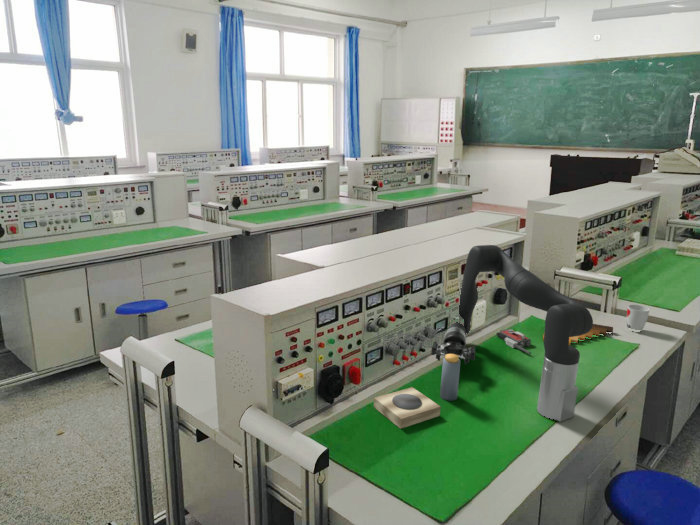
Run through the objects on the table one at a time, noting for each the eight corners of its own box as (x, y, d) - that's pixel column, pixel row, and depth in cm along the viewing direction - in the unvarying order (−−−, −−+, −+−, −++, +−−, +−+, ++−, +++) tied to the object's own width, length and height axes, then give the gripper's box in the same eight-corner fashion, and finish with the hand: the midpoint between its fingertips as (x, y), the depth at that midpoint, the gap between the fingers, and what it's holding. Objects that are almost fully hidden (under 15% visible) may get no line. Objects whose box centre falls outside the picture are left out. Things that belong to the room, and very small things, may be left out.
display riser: (439, 415, 155) (440, 405, 154) (400, 428, 147) (401, 417, 147) (411, 395, 165) (412, 386, 164) (373, 407, 158) (374, 396, 157)
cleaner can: (460, 398, 165) (464, 358, 162) (447, 402, 162) (451, 361, 159) (449, 390, 169) (452, 351, 166) (436, 394, 167) (439, 354, 163)
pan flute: (611, 333, 224) (548, 322, 234) (613, 325, 223) (549, 315, 233) (612, 355, 202) (542, 342, 211) (614, 347, 201) (543, 334, 211)
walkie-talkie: (491, 337, 214) (527, 357, 197) (492, 327, 213) (529, 346, 196) (508, 334, 218) (545, 354, 201) (509, 324, 217) (547, 342, 199)
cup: (625, 325, 232) (629, 303, 229) (646, 330, 227) (651, 307, 225) (622, 330, 226) (626, 308, 223) (643, 335, 221) (648, 312, 219)
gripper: (435, 328, 190) (430, 346, 175) (476, 333, 187) (476, 351, 172) (433, 347, 192) (429, 367, 177) (474, 353, 189) (473, 373, 174)
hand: (452, 359), depth 175 cm, fingers open, 8 cm apart
